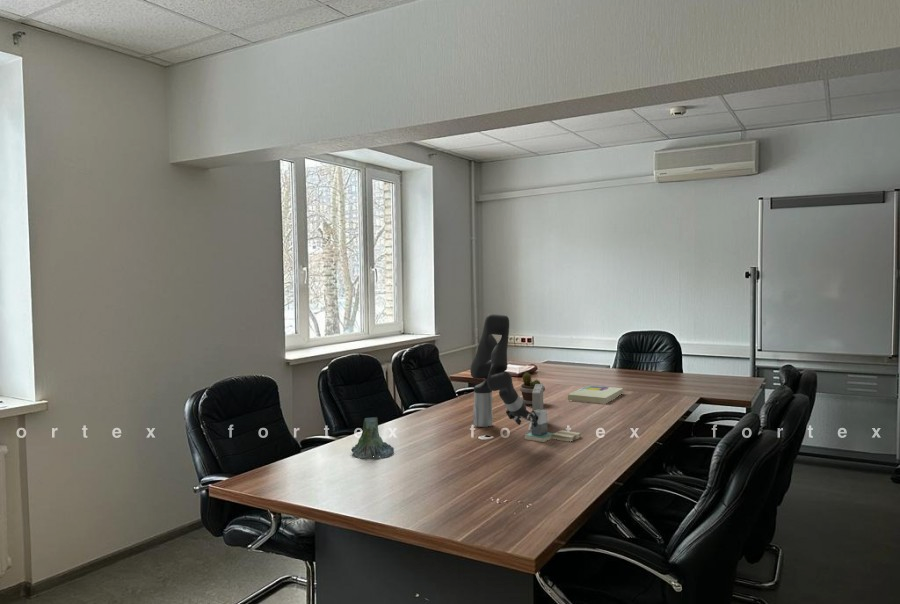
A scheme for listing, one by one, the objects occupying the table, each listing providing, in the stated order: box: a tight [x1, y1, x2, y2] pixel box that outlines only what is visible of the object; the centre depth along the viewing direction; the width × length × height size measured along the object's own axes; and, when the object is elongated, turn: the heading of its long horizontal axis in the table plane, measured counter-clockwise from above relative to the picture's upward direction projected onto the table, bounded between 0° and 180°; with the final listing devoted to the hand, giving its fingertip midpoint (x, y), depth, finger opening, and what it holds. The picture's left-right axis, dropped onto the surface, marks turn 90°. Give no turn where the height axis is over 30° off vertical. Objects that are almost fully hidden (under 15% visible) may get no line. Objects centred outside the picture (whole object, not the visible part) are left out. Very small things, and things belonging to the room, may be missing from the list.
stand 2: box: [550, 430, 582, 443], centre depth 298 cm, size 10×10×2 cm
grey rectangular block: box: [530, 409, 548, 436], centre depth 298 cm, size 6×5×11 cm
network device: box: [527, 383, 544, 432], centre depth 320 cm, size 26×9×20 cm, turn 168°
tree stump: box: [351, 416, 395, 460], centre depth 280 cm, size 18×20×18 cm
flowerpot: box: [519, 371, 546, 407], centre depth 376 cm, size 14×15×20 cm
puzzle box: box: [567, 385, 624, 405], centre depth 394 cm, size 36×5×24 cm
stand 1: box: [524, 431, 555, 443], centre depth 298 cm, size 10×10×2 cm
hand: (527, 424), depth 290 cm, fingers open, 8 cm apart
